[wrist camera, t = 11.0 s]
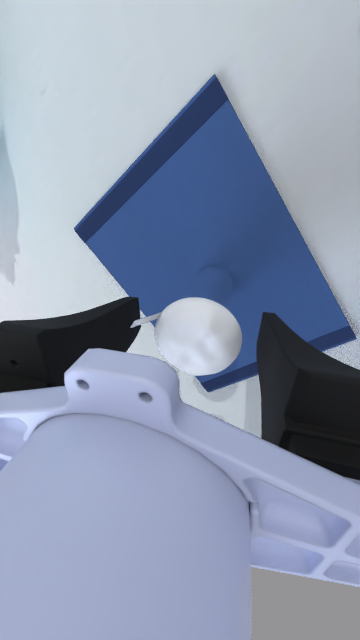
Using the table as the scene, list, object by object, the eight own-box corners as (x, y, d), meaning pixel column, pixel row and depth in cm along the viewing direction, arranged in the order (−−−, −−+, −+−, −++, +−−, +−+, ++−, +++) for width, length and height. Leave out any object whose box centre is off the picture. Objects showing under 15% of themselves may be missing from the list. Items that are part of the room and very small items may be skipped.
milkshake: (198, 237, 18) (155, 285, 9) (255, 279, 18) (264, 361, 10) (168, 283, 20) (112, 355, 12) (219, 319, 21) (201, 413, 12)
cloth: (355, 336, 19) (357, 339, 18) (208, 390, 25) (208, 392, 25) (215, 75, 14) (214, 72, 13) (75, 228, 20) (73, 228, 20)
